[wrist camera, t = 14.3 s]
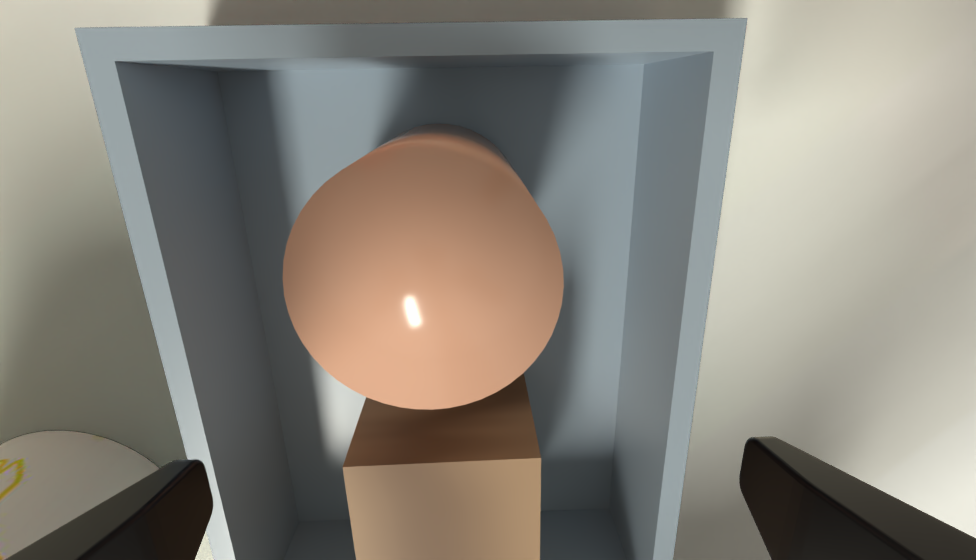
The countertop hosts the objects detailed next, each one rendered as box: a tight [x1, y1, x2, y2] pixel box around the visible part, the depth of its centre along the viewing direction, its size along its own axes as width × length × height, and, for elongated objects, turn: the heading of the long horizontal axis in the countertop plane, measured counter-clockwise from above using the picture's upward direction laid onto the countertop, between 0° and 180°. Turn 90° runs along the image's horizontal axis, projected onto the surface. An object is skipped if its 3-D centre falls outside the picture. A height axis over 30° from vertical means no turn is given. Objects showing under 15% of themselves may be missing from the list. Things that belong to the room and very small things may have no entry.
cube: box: [343, 373, 541, 560], centre depth 16 cm, size 5×5×5 cm
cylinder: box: [283, 124, 564, 410], centre depth 12 cm, size 5×5×7 cm
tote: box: [75, 18, 747, 560], centre depth 15 cm, size 17×13×5 cm
